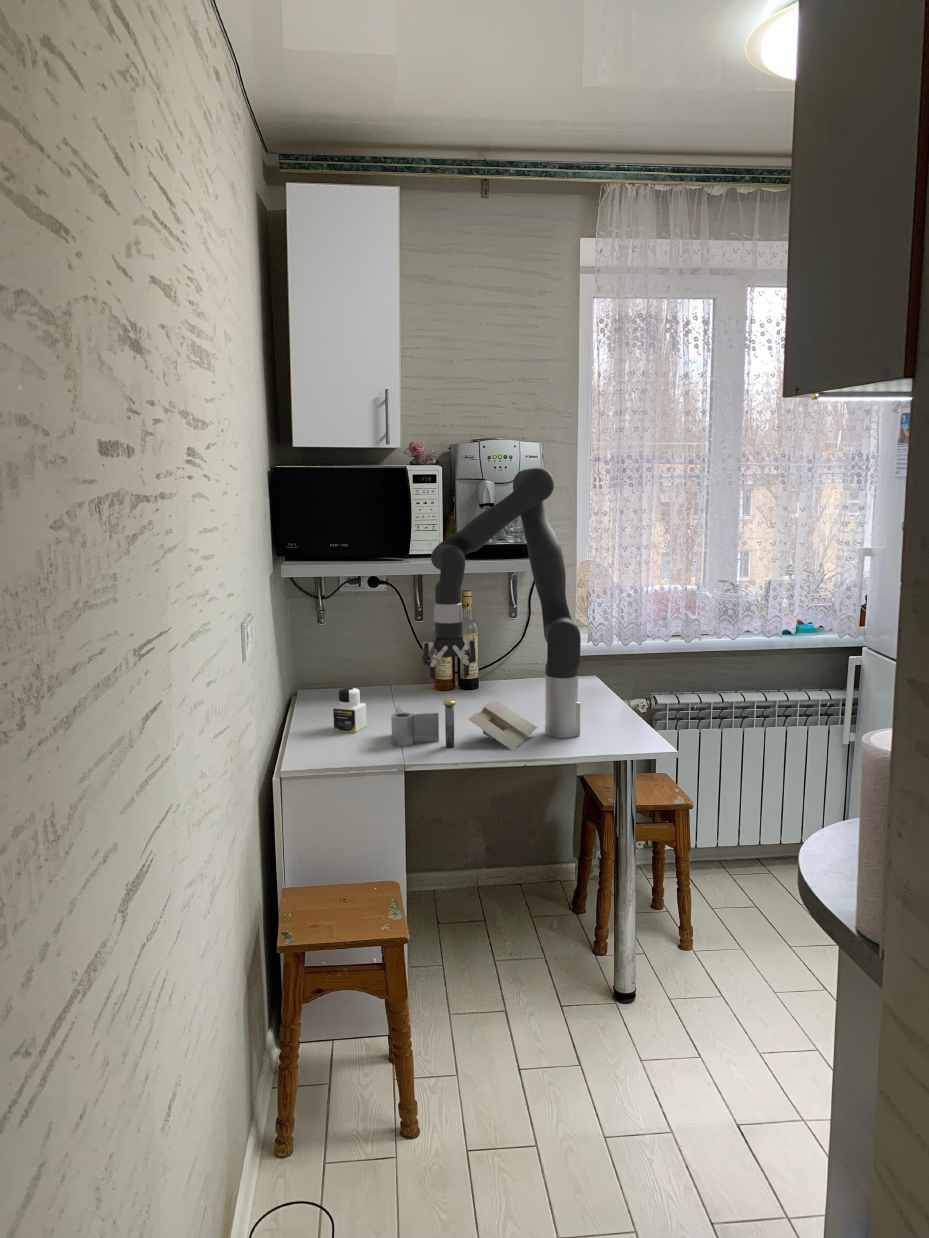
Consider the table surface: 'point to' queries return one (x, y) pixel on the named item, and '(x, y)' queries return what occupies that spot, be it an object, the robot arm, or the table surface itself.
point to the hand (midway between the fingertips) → (449, 679)
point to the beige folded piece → (502, 724)
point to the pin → (449, 722)
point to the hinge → (414, 728)
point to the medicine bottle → (349, 711)
